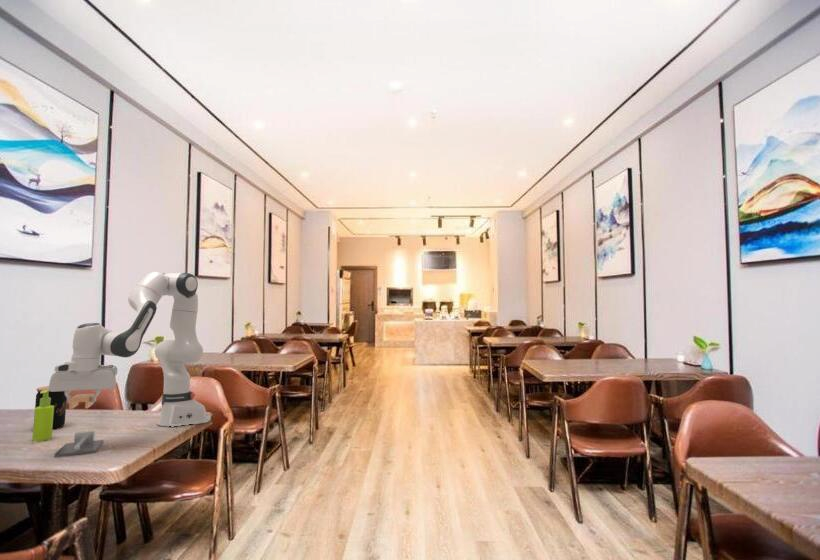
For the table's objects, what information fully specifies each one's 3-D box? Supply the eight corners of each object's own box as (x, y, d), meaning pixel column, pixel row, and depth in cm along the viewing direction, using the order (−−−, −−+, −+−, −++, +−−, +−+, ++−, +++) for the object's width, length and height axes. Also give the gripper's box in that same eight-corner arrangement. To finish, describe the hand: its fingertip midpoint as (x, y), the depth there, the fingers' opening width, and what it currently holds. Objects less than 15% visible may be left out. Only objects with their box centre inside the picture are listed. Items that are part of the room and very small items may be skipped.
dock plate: (103, 442, 168) (104, 429, 168) (95, 452, 155) (96, 439, 156) (65, 446, 162) (66, 433, 163) (54, 457, 150) (55, 443, 150)
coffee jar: (46, 432, 181) (49, 389, 183) (26, 430, 183) (30, 388, 185) (70, 425, 192) (73, 385, 193) (51, 424, 194) (55, 384, 195)
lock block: (93, 403, 164) (94, 393, 165) (87, 408, 156) (88, 397, 157) (75, 404, 162) (76, 394, 162) (68, 409, 154) (69, 398, 154)
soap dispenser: (29, 443, 166) (33, 392, 167) (35, 438, 172) (39, 389, 173) (48, 441, 168) (52, 390, 170) (53, 436, 174) (57, 388, 176)
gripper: (119, 363, 168) (116, 399, 166) (54, 365, 159) (51, 402, 158) (116, 365, 162) (113, 401, 161) (49, 367, 153) (45, 405, 152)
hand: (81, 402), depth 159 cm, fingers closed on lock block, 6 cm apart
